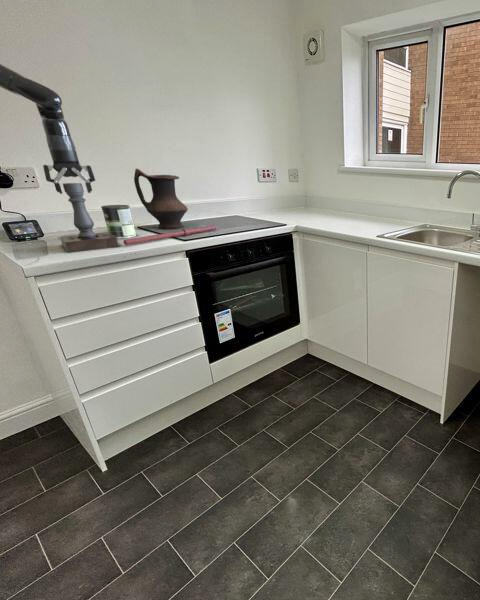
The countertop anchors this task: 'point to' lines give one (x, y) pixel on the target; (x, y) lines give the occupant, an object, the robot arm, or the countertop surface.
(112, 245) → the stand
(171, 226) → the jug
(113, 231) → the coffee can
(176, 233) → the red rod
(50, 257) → the countertop surface
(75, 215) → the candle holder
